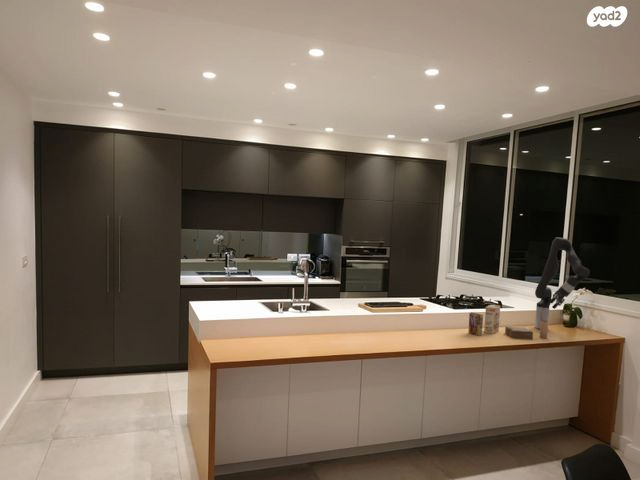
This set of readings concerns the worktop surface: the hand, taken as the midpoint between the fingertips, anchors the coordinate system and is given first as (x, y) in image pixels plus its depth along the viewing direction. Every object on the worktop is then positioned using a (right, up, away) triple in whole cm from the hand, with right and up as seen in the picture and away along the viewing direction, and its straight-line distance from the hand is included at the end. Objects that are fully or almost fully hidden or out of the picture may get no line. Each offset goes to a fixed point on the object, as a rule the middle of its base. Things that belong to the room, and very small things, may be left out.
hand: (551, 305), depth 331 cm
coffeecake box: (-43, -21, +5) cm, 48 cm away
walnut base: (-27, -22, -5) cm, 35 cm away
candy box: (-59, -20, -5) cm, 63 cm away
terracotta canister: (-9, -23, -5) cm, 25 cm away
